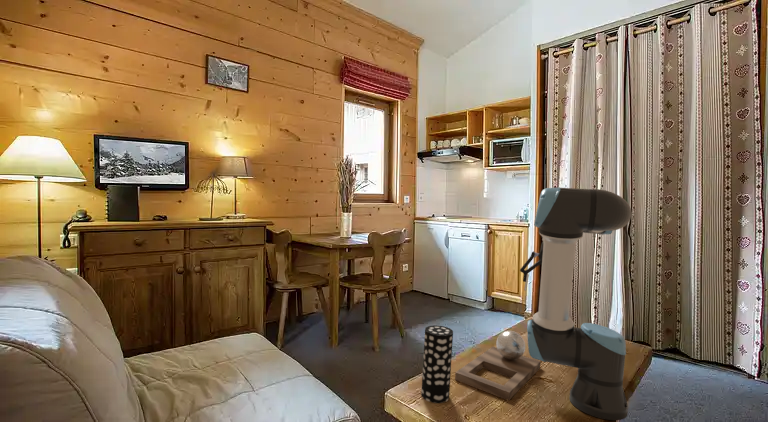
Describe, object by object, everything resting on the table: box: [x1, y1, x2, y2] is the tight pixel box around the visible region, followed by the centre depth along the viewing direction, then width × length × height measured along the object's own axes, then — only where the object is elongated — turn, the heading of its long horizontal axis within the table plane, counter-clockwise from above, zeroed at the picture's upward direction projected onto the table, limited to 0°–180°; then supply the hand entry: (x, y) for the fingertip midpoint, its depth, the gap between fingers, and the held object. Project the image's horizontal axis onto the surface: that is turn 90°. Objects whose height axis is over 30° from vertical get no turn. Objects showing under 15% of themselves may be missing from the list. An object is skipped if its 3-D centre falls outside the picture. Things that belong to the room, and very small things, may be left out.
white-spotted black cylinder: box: [420, 324, 454, 404], centre depth 114 cm, size 8×8×20 cm
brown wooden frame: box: [454, 346, 542, 401], centre depth 131 cm, size 30×18×2 cm, turn 141°
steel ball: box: [495, 330, 526, 360], centre depth 138 cm, size 10×10×10 cm
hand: (542, 293), depth 157 cm, fingers open, 13 cm apart
